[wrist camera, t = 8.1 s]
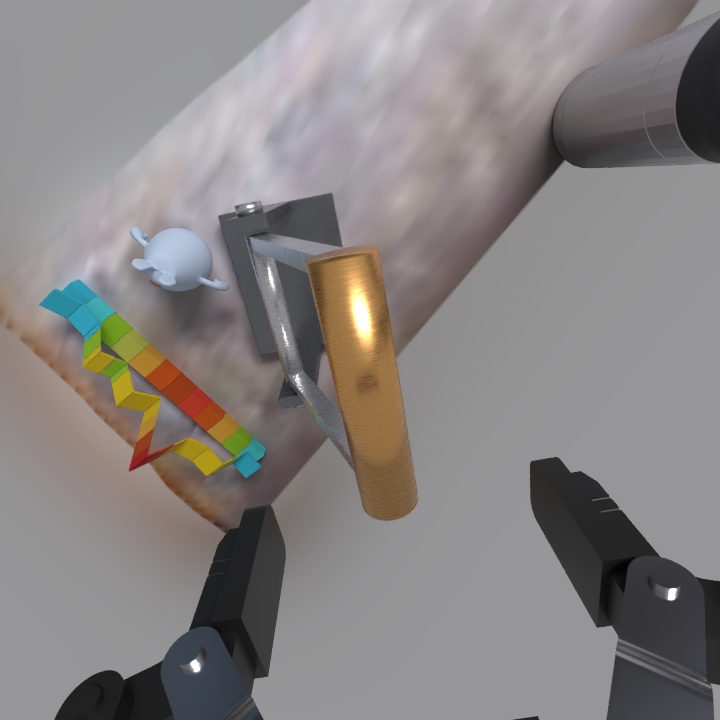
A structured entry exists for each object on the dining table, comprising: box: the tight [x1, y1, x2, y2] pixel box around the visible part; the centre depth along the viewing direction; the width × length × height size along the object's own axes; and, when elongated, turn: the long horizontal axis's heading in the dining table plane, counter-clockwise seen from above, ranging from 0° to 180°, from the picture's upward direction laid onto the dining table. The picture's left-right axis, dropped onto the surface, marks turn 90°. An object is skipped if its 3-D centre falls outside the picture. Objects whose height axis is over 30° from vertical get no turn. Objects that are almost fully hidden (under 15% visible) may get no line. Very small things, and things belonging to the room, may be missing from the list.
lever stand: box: [218, 193, 343, 409], centre depth 40 cm, size 12×18×16 cm
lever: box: [245, 232, 418, 521], centre depth 27 cm, size 3×13×20 cm, turn 12°
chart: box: [39, 280, 266, 478], centre depth 46 cm, size 30×3×15 cm, turn 39°
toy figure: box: [130, 227, 229, 292], centre depth 41 cm, size 11×6×12 cm, turn 55°
